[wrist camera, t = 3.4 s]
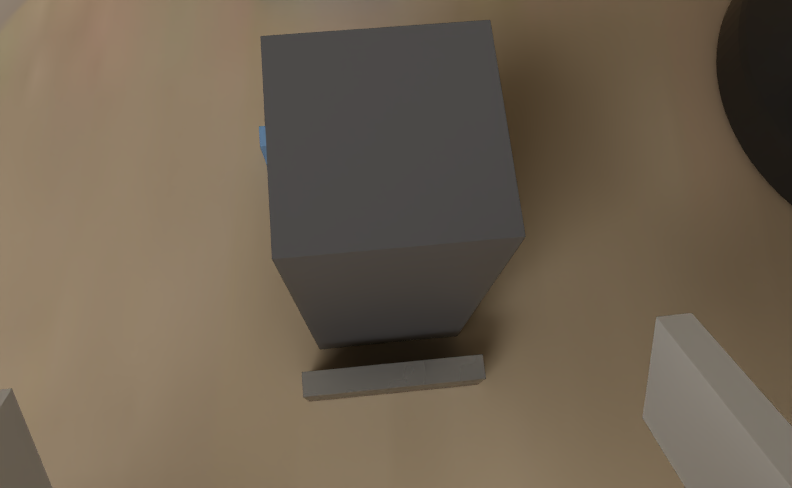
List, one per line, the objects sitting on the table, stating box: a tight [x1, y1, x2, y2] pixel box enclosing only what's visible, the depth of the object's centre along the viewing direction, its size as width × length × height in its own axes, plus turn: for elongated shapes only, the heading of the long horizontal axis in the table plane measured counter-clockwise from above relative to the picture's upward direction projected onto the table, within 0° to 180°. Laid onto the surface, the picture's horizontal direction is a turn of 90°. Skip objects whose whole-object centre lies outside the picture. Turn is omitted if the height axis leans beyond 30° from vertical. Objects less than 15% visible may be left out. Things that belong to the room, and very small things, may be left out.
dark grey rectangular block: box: [261, 20, 526, 349], centre depth 20 cm, size 5×5×12 cm
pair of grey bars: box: [302, 354, 486, 401], centre depth 25 cm, size 6×9×2 cm
